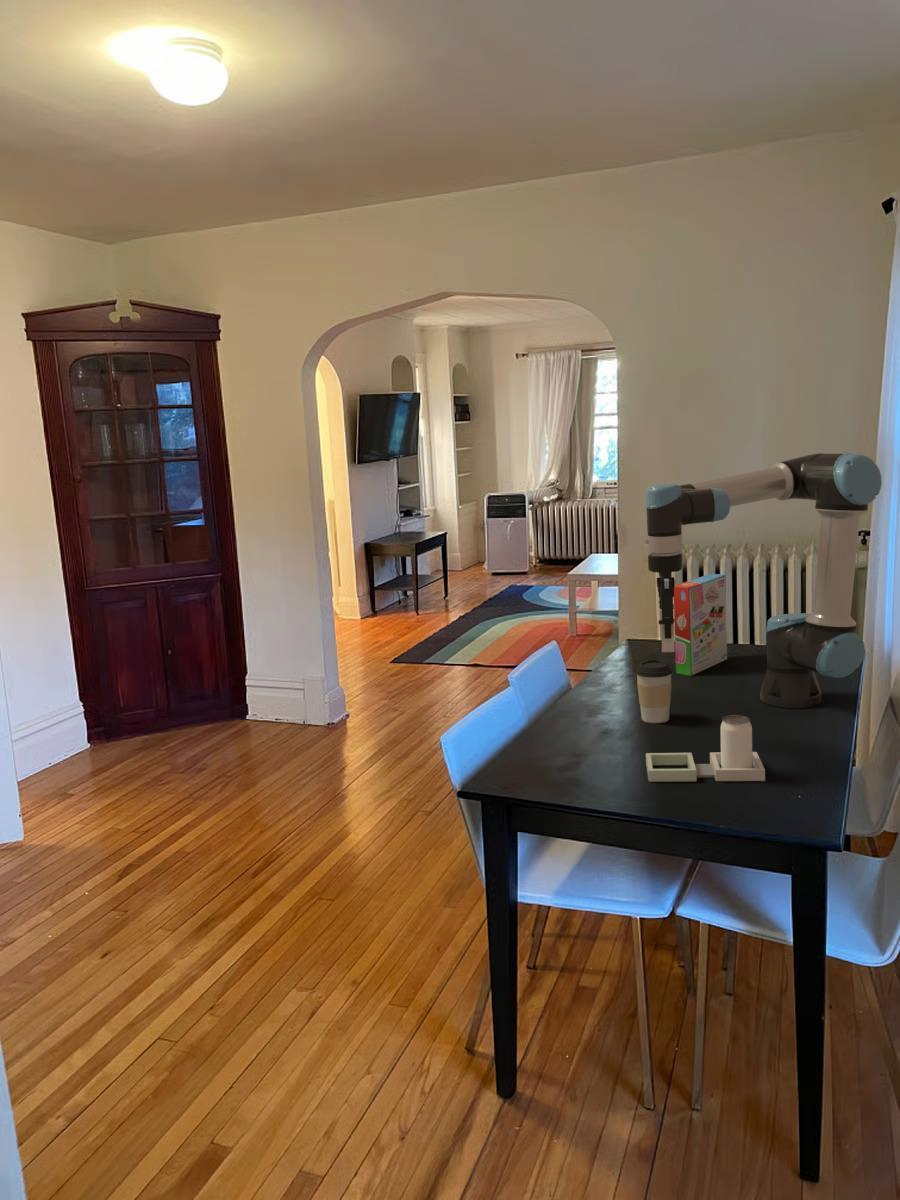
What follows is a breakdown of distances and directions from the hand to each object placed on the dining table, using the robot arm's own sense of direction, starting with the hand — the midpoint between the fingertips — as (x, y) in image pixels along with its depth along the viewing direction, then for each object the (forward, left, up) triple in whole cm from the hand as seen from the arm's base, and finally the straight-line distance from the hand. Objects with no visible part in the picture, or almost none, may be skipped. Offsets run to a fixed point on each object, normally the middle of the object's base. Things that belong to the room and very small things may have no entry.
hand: (667, 644), depth 203 cm
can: (-13, +15, -25) cm, 32 cm away
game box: (-15, -66, -25) cm, 72 cm away
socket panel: (-6, +15, -25) cm, 30 cm away
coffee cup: (+2, -20, -25) cm, 32 cm away
